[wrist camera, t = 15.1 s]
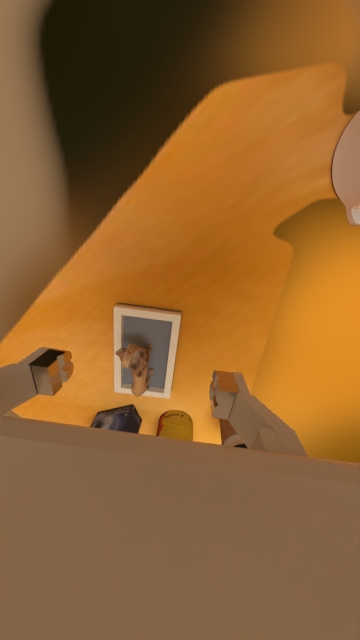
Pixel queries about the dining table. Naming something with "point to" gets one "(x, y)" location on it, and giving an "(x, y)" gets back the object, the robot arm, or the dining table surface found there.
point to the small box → (118, 419)
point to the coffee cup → (230, 435)
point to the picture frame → (142, 331)
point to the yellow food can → (175, 425)
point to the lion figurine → (137, 366)
